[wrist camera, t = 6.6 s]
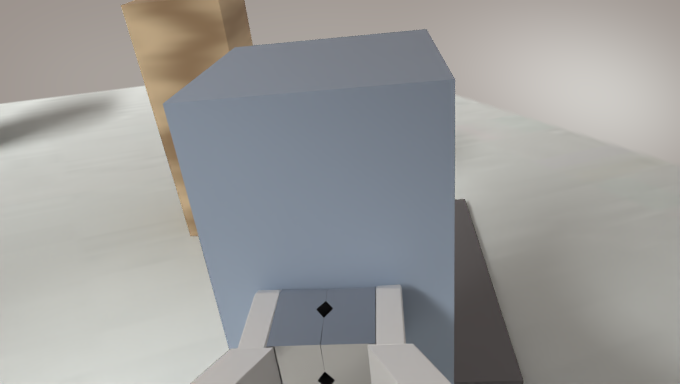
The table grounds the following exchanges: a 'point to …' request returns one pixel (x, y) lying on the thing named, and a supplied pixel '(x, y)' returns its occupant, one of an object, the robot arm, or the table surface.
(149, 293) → the table surface
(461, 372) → the mat
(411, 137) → the slate pillar
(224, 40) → the oak pillar
